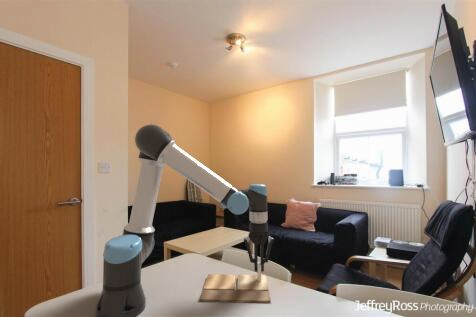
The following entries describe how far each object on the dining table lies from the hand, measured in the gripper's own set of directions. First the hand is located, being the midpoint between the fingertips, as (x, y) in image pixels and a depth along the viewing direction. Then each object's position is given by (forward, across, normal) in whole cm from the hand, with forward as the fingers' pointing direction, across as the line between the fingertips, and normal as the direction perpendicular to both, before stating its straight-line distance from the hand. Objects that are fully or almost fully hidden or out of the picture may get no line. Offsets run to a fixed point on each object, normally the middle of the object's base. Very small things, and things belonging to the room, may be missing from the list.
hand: (259, 279), depth 101 cm
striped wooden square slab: (+2, -16, -1) cm, 16 cm away
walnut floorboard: (+2, -9, -12) cm, 15 cm away
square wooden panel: (+2, -3, -1) cm, 4 cm away
